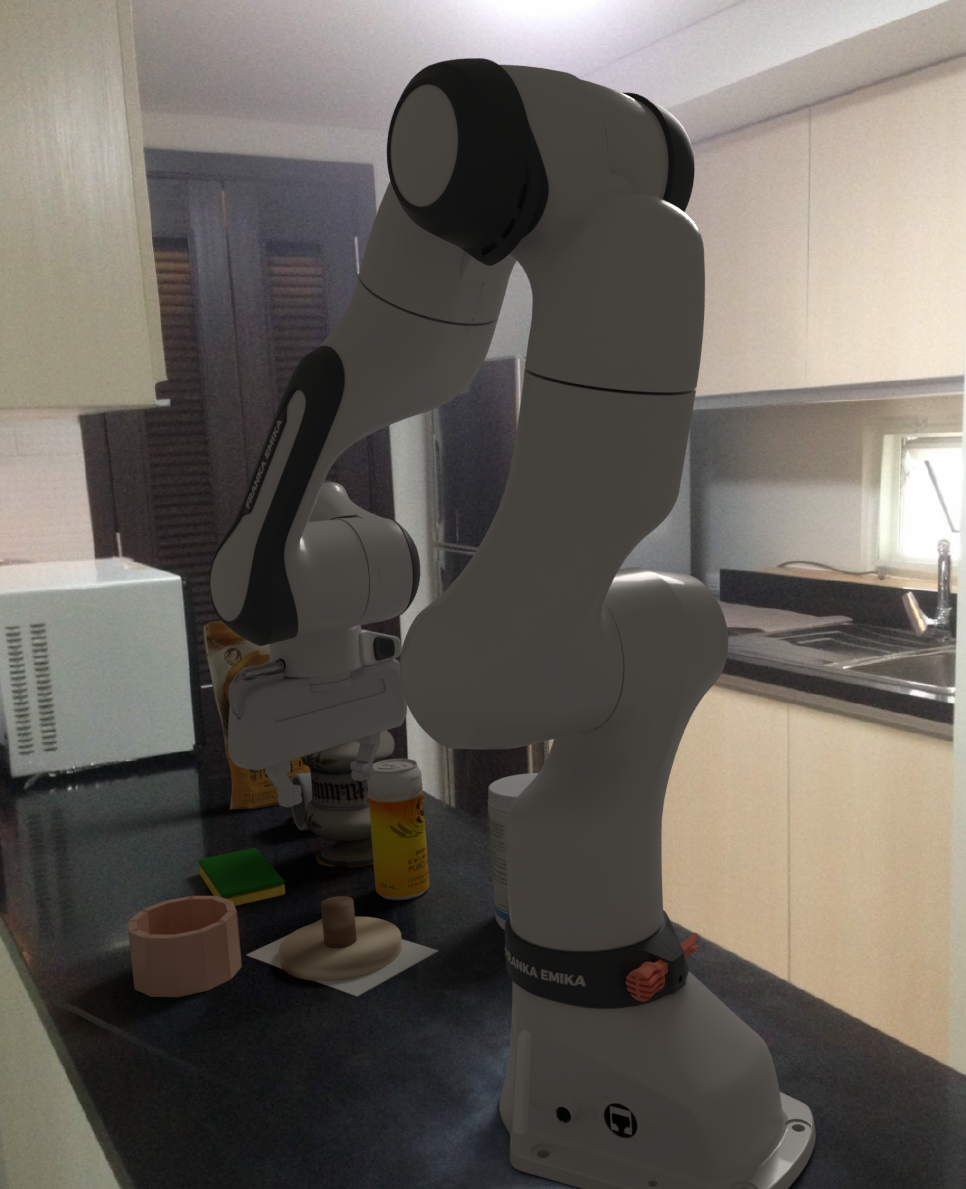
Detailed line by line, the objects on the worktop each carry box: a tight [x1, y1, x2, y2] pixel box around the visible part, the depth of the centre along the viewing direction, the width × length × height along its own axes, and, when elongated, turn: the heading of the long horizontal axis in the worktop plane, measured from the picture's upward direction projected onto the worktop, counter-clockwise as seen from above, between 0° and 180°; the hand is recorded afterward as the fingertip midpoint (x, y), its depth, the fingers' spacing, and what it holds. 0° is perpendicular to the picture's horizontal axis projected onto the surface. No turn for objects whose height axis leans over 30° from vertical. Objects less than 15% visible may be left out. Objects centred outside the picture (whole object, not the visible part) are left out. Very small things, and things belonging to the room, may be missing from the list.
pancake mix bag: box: [201, 619, 311, 810], centre depth 162 cm, size 7×19×28 cm, turn 119°
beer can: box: [367, 758, 430, 901], centre depth 122 cm, size 6×6×15 cm
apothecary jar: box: [300, 730, 395, 869], centre depth 135 cm, size 12×12×18 cm
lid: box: [279, 895, 402, 982], centre depth 107 cm, size 12×12×5 cm
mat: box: [245, 918, 439, 997], centre depth 107 cm, size 16×11×1 cm
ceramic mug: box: [290, 773, 312, 831], centre depth 151 cm, size 11×8×8 cm
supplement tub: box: [487, 772, 539, 931], centre depth 112 cm, size 10×10×15 cm
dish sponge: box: [198, 847, 286, 907], centre depth 129 cm, size 7×14×2 cm, turn 26°
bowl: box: [127, 895, 243, 998], centre depth 105 cm, size 10×10×6 cm
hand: (327, 791), depth 106 cm, fingers open, 8 cm apart
